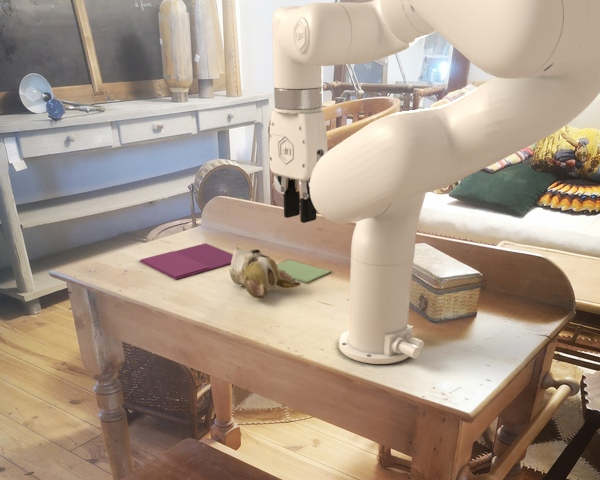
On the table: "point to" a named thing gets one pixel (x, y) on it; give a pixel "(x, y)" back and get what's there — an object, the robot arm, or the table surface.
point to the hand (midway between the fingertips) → (300, 217)
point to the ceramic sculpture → (258, 273)
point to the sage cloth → (302, 271)
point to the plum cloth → (189, 261)
